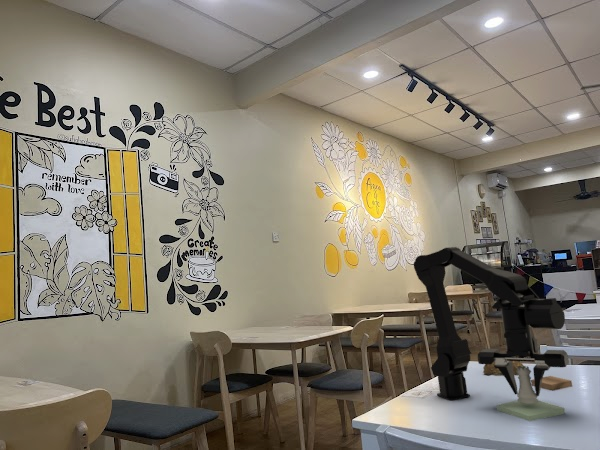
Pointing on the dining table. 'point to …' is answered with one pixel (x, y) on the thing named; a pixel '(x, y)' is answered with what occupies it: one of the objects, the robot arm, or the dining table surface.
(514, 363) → the bread roll
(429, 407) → the dining table surface
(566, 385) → the walnut block
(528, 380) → the rook chess piece
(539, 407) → the sage block
